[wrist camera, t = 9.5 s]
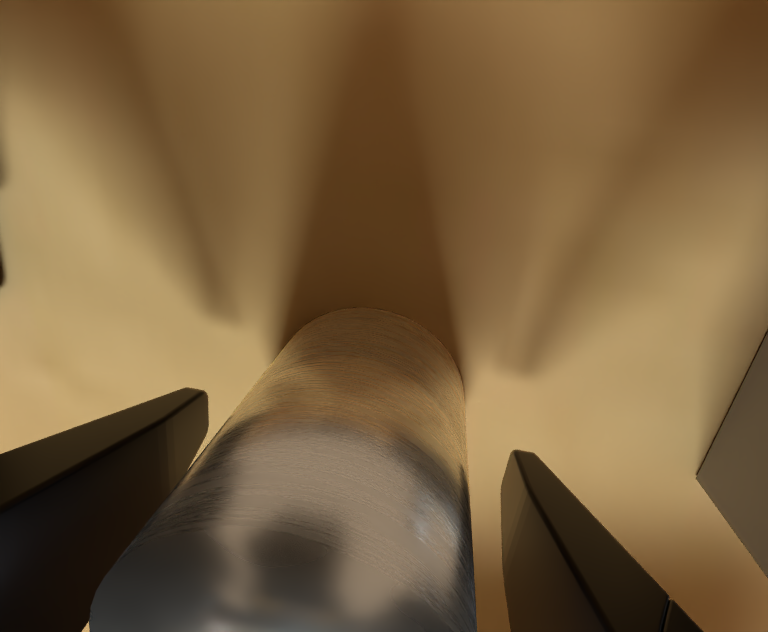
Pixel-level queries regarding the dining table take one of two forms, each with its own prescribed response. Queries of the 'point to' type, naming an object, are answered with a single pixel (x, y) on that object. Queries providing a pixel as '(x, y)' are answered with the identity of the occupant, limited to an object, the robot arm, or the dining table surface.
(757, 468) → the base
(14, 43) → the dining table surface
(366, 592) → the cylinder
